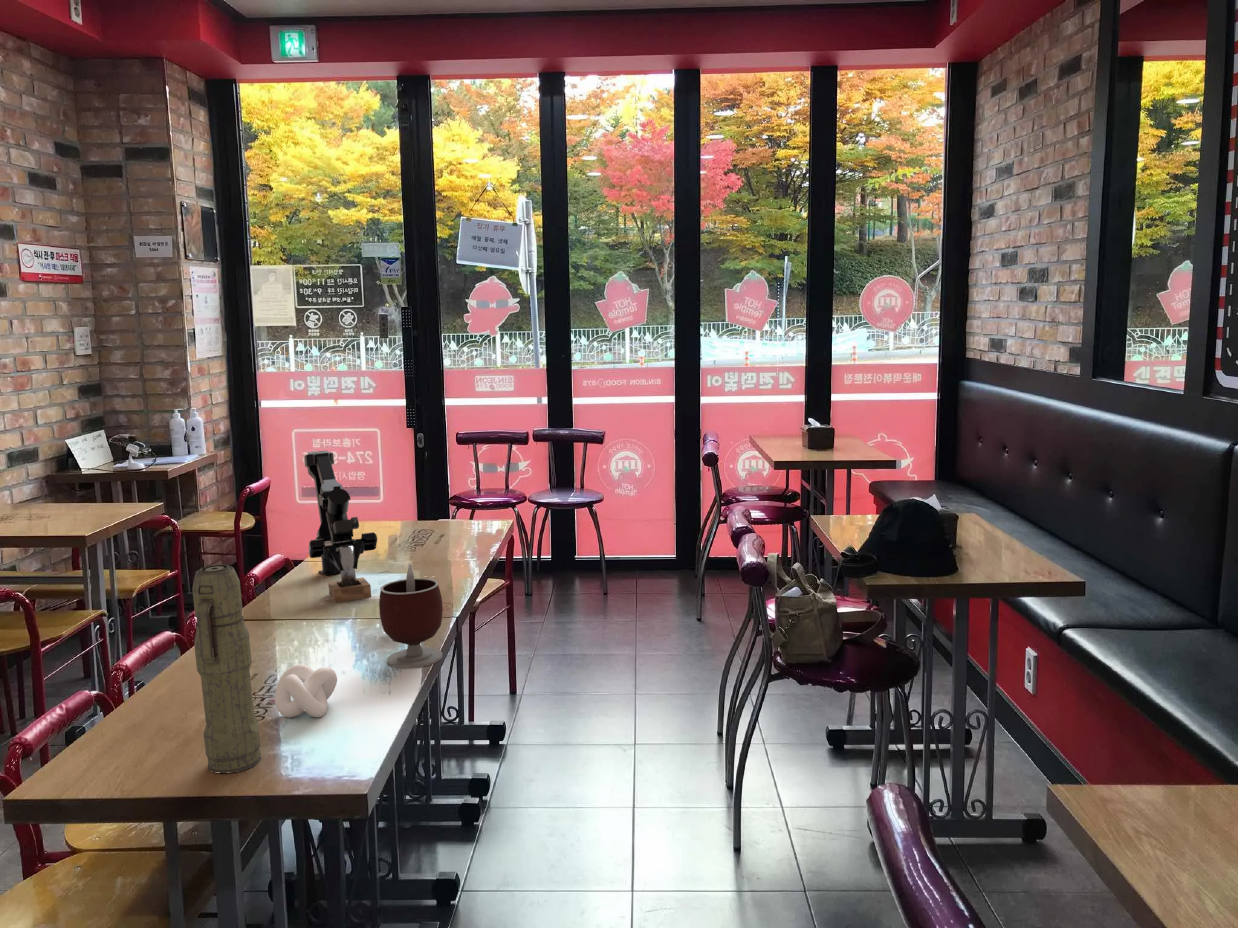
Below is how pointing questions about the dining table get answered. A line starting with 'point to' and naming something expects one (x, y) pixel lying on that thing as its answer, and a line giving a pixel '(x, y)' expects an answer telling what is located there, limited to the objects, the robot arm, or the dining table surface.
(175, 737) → the dining table surface
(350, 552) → the pin
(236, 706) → the thermos
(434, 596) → the mate gourd
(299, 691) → the white knot
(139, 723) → the dining table surface
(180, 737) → the dining table surface
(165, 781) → the dining table surface
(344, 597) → the socket block
